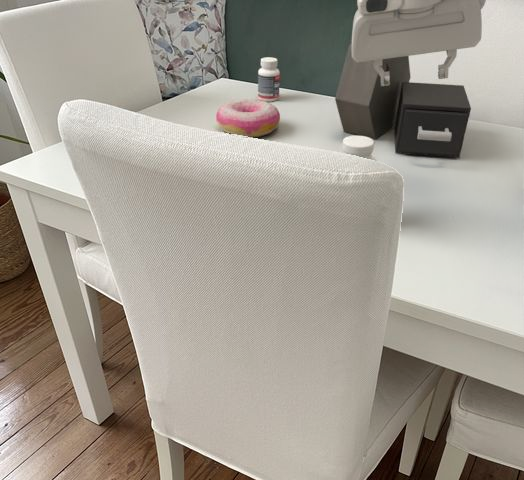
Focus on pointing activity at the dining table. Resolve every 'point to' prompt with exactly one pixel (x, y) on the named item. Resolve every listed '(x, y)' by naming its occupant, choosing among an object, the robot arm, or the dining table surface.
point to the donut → (248, 117)
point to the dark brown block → (370, 95)
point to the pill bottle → (268, 80)
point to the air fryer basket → (432, 131)
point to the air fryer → (430, 106)
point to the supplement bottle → (359, 146)
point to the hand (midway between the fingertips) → (413, 81)
